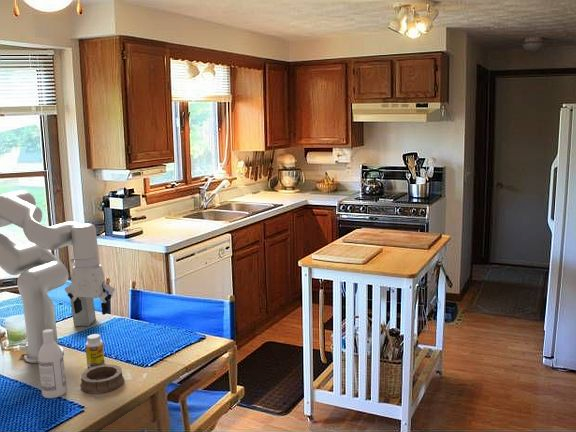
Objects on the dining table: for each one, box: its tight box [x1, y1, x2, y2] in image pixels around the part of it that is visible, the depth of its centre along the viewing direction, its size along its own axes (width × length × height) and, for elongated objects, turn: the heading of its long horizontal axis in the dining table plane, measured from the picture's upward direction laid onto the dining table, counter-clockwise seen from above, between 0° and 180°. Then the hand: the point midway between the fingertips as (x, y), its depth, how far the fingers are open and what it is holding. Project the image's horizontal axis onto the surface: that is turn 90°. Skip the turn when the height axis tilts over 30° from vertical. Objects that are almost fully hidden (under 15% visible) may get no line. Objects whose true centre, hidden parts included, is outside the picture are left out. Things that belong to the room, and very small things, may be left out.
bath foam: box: [37, 329, 67, 399], centre depth 173 cm, size 7×7×20 cm
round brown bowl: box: [79, 363, 125, 395], centre depth 180 cm, size 13×13×4 cm
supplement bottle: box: [84, 333, 105, 368], centre depth 192 cm, size 6×6×10 cm
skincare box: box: [69, 289, 97, 327], centre depth 231 cm, size 8×7×16 cm
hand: (92, 312), depth 190 cm, fingers open, 9 cm apart
